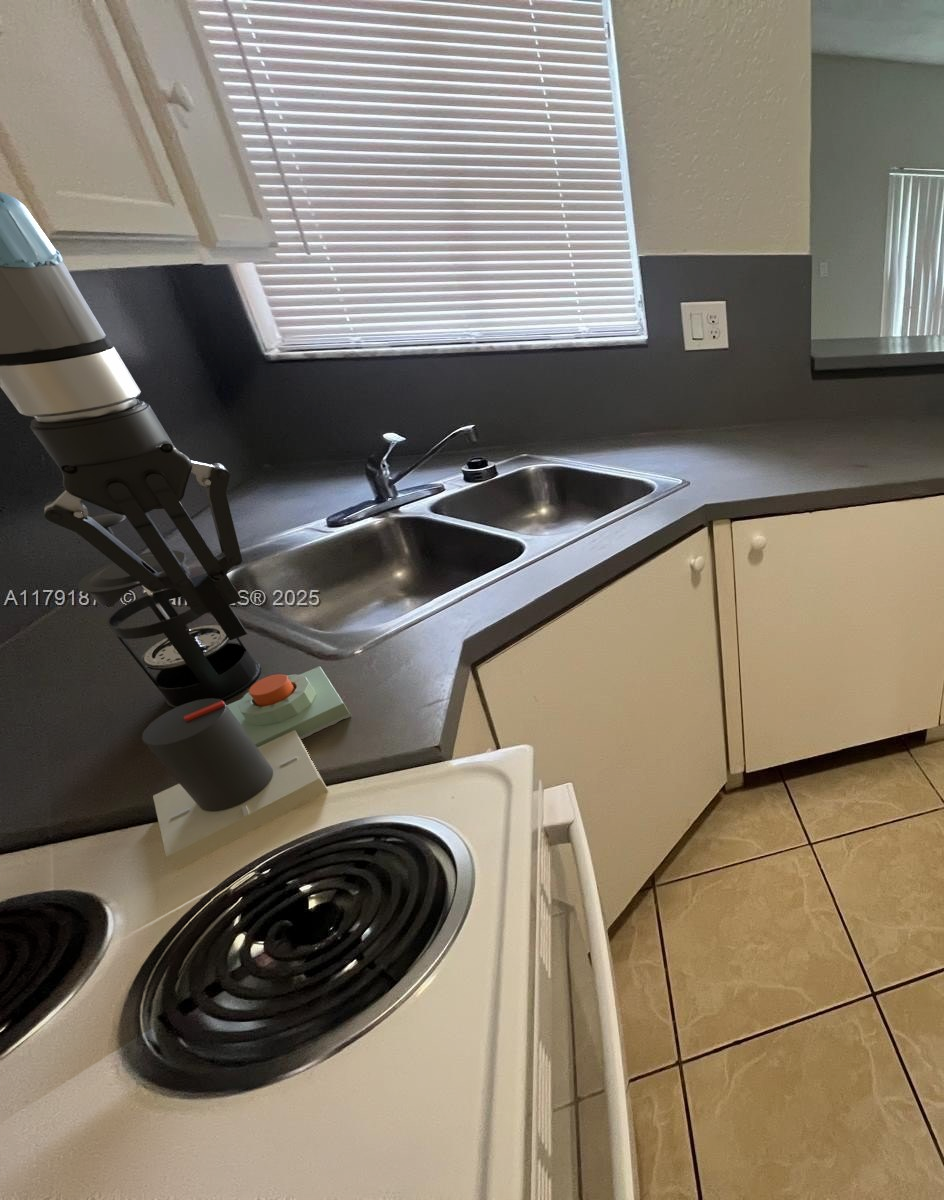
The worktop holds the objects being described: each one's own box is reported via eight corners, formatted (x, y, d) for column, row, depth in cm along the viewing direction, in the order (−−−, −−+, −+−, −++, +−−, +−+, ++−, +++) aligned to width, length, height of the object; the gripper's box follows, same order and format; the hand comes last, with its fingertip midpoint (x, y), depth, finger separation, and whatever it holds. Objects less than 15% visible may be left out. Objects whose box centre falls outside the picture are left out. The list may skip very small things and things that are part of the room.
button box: (230, 721, 73) (211, 695, 71) (327, 679, 79) (313, 654, 77) (248, 766, 67) (228, 739, 65) (351, 716, 73) (336, 691, 71)
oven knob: (203, 822, 59) (143, 753, 53) (193, 788, 62) (136, 720, 57) (279, 784, 62) (229, 716, 57) (265, 754, 66) (217, 687, 61)
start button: (253, 696, 71) (245, 685, 70) (290, 681, 73) (283, 669, 72) (260, 711, 69) (252, 699, 68) (298, 695, 71) (291, 683, 70)
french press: (272, 683, 78) (164, 517, 66) (177, 725, 73) (38, 552, 60) (247, 647, 85) (144, 490, 72) (158, 683, 79) (28, 519, 66)
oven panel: (164, 808, 63) (151, 793, 62) (303, 742, 70) (293, 728, 69) (178, 871, 57) (164, 856, 56) (329, 791, 64) (319, 777, 63)
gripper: (179, 384, 59) (298, 594, 72) (-24, 419, 51) (152, 646, 64) (191, 398, 55) (316, 618, 68) (-29, 438, 47) (160, 678, 60)
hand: (236, 632), depth 66 cm, fingers closed
